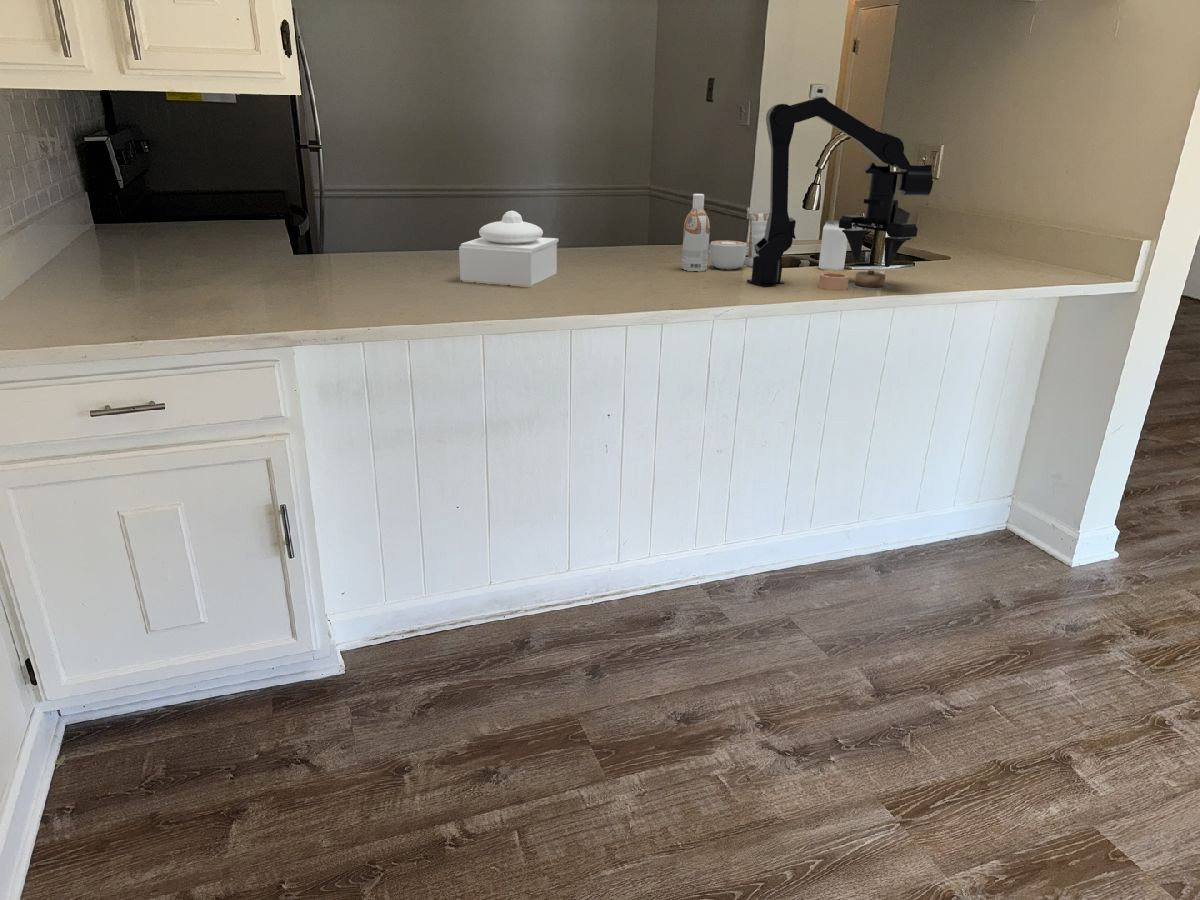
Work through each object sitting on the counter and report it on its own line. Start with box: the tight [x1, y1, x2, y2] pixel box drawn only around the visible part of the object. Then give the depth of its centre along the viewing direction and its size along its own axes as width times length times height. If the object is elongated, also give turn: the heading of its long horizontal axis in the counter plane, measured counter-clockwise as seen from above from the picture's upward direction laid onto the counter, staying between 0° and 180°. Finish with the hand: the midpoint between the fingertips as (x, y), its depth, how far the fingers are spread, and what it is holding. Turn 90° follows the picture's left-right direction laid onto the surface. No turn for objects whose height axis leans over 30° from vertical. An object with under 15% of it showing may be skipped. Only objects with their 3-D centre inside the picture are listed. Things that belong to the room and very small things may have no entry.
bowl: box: [818, 272, 850, 292], centre depth 198 cm, size 6×6×3 cm
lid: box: [854, 269, 886, 288], centre depth 201 cm, size 7×7×3 cm
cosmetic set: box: [681, 193, 770, 272], centre depth 218 cm, size 25×9×19 cm, turn 112°
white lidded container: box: [458, 210, 560, 286], centre depth 199 cm, size 18×18×16 cm
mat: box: [848, 282, 898, 291], centre depth 201 cm, size 10×8×1 cm
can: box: [818, 220, 848, 271], centre depth 221 cm, size 6×6×12 cm
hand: (871, 263), depth 199 cm, fingers open, 9 cm apart
